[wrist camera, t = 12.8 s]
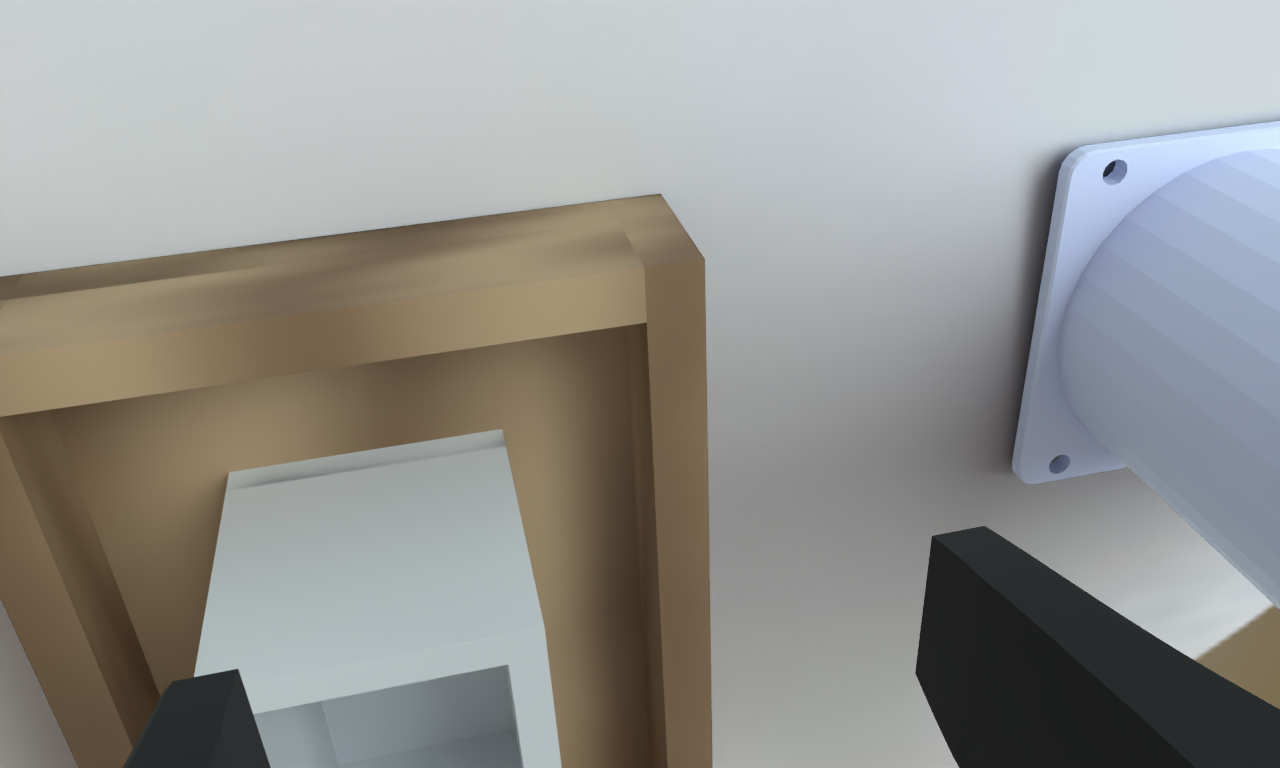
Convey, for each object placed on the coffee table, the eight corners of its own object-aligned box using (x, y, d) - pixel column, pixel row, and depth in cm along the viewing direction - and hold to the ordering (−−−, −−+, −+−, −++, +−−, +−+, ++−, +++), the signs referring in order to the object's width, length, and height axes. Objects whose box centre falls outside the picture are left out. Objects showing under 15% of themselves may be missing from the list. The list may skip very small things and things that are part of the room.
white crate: (502, 428, 21) (544, 626, 16) (540, 721, 25) (583, 945, 20) (229, 472, 20) (190, 695, 15) (315, 767, 24) (307, 1012, 19)
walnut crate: (660, 193, 20) (705, 259, 18) (682, 774, 28) (713, 875, 26) (-42, 282, 18) (-107, 370, 16) (202, 878, 26) (186, 999, 24)
